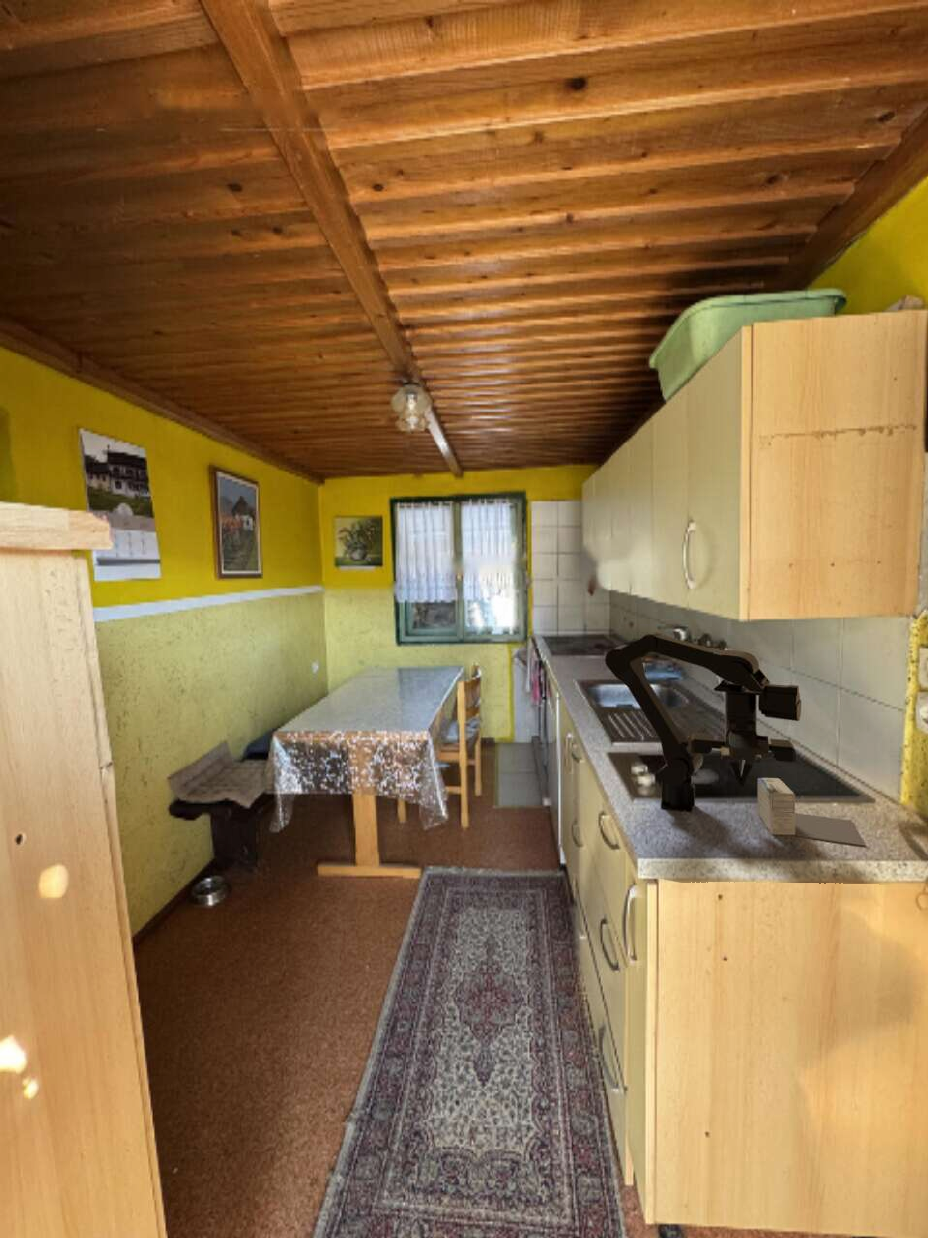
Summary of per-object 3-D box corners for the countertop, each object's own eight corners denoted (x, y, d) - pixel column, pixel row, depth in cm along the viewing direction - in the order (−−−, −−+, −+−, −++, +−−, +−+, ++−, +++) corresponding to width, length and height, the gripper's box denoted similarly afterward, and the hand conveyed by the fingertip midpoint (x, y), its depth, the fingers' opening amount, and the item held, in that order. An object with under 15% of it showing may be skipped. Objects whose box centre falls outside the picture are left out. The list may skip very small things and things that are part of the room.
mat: (796, 836, 99) (796, 835, 99) (788, 813, 108) (788, 812, 108) (865, 847, 94) (865, 845, 94) (851, 822, 103) (851, 820, 103)
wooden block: (795, 836, 99) (796, 794, 98) (770, 835, 100) (771, 793, 99) (780, 817, 107) (780, 777, 106) (756, 816, 108) (757, 777, 107)
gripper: (690, 721, 101) (691, 796, 102) (801, 729, 93) (800, 810, 94) (691, 706, 111) (692, 775, 112) (791, 712, 103) (791, 786, 104)
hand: (740, 786), depth 106 cm, fingers closed
